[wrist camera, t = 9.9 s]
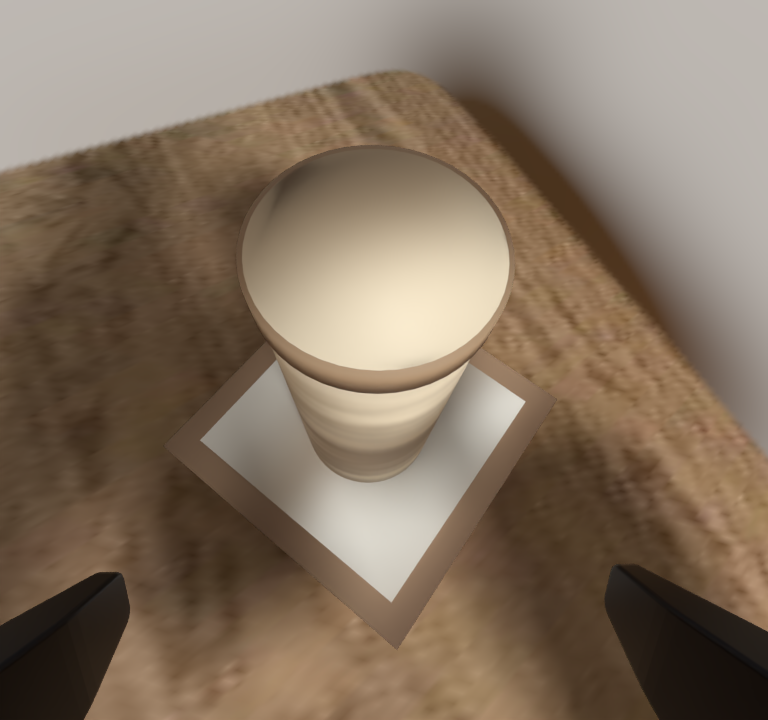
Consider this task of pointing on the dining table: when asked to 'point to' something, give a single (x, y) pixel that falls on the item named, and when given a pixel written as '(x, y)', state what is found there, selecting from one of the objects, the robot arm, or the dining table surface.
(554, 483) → the dining table surface
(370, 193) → the lidded cylindrical jar
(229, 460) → the base
